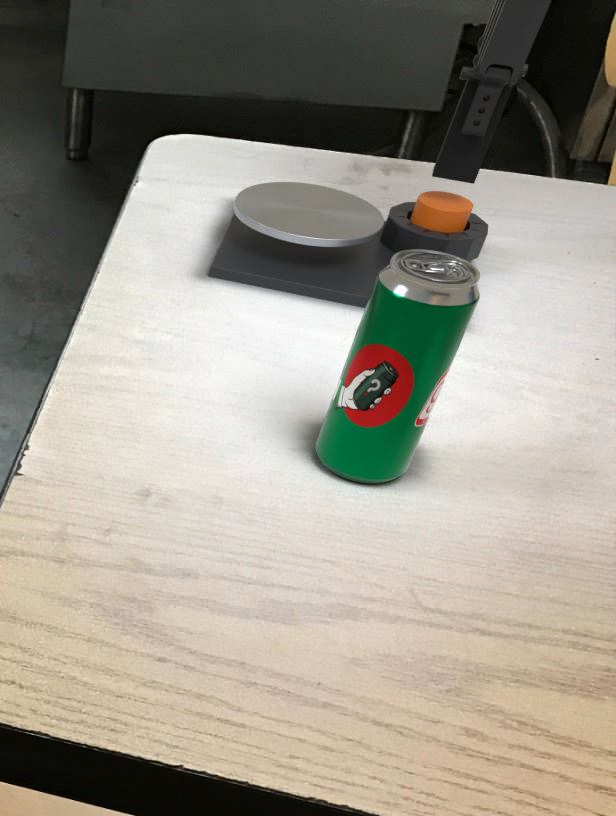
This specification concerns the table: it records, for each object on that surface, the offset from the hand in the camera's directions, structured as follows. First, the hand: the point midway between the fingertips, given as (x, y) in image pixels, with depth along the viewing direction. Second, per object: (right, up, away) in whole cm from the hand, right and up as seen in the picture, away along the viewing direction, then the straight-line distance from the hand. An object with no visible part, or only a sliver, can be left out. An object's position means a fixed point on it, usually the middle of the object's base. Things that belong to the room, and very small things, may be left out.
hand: (453, 176), depth 94 cm
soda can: (-14, -23, -16) cm, 31 cm away
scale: (-7, -6, +3) cm, 9 cm away
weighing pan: (-9, -2, +2) cm, 10 cm away
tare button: (0, -3, +2) cm, 3 cm away
